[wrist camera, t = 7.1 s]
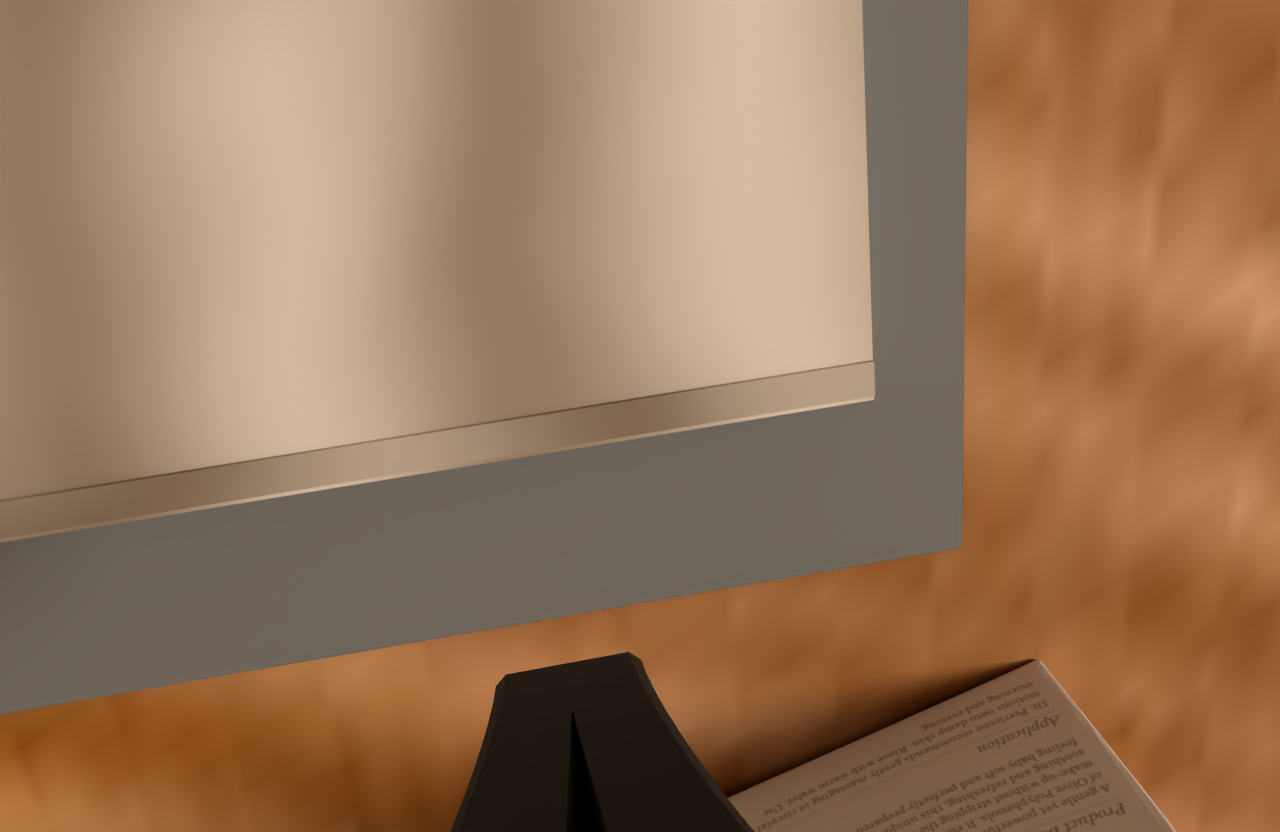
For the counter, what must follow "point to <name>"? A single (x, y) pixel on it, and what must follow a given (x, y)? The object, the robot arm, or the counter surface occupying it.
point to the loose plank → (412, 238)
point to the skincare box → (965, 772)
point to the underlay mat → (561, 479)
